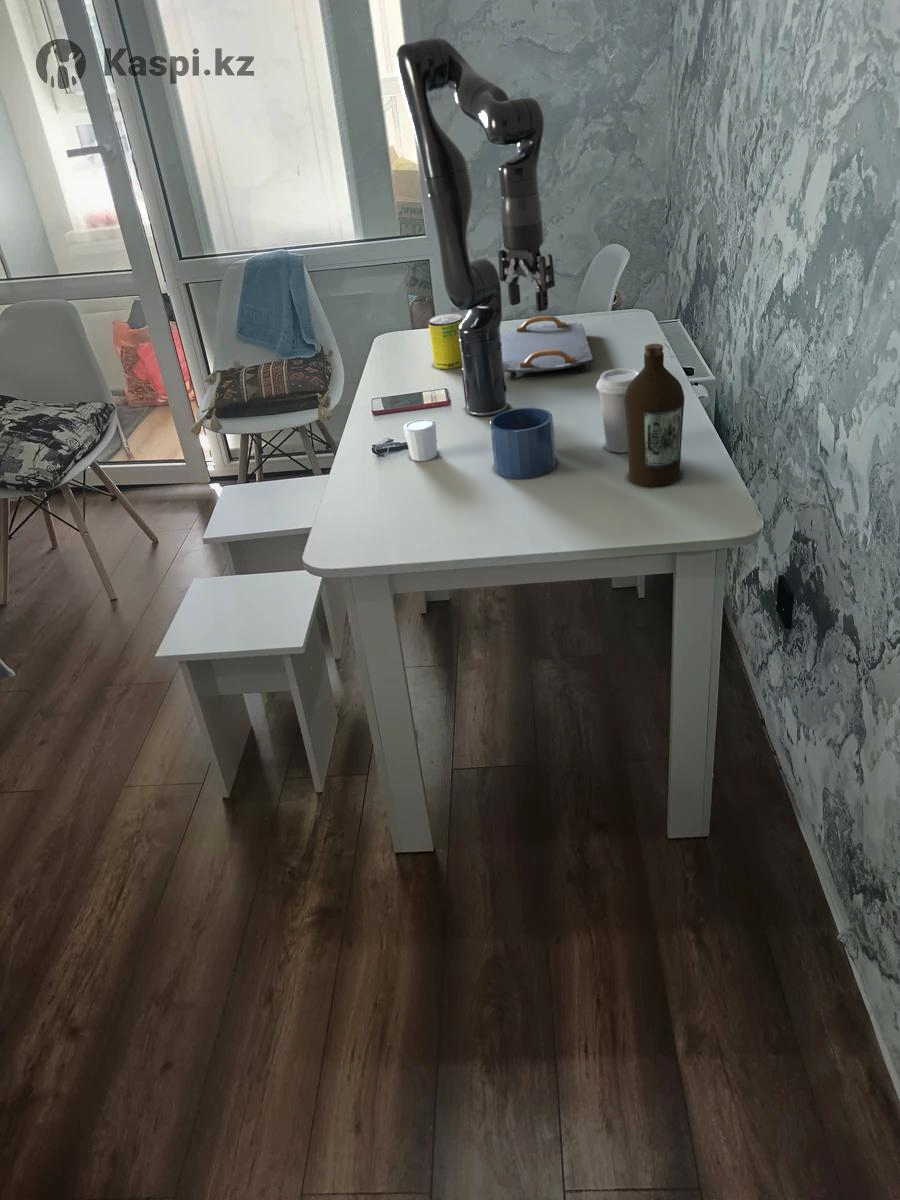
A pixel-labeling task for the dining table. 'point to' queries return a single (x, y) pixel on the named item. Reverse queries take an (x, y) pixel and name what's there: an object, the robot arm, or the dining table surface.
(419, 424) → the white cylinder
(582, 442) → the dining table surface
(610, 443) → the coffee cup
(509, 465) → the cup
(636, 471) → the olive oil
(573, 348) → the serving tray
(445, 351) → the yellow can
